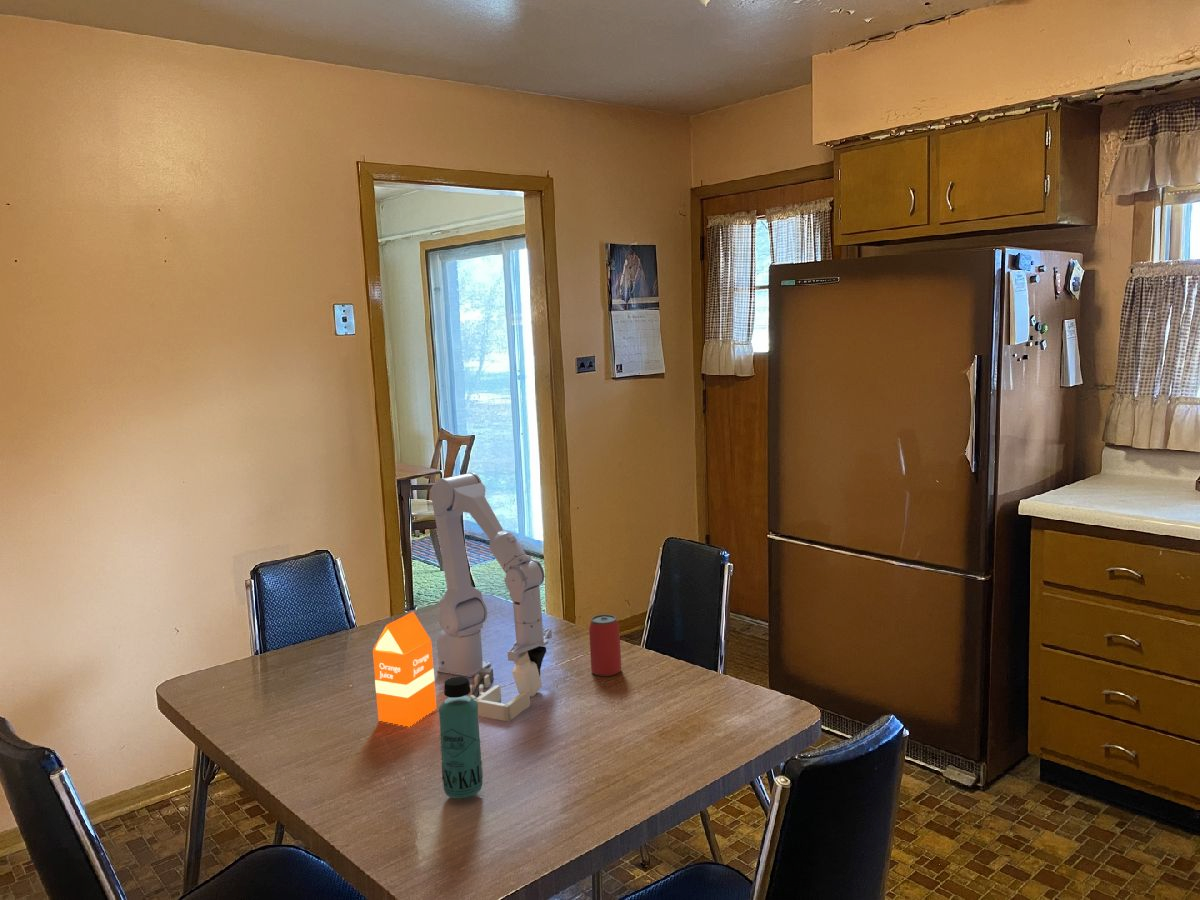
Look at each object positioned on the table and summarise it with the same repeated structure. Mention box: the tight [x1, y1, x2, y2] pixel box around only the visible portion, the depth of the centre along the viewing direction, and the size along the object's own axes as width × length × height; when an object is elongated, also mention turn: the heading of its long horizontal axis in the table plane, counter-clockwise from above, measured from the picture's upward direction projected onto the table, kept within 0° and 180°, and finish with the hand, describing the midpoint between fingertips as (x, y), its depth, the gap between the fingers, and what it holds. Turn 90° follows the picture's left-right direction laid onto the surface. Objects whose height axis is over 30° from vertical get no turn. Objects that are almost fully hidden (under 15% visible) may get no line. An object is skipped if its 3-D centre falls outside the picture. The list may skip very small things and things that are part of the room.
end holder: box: [475, 684, 531, 722], centre depth 174 cm, size 8×8×3 cm
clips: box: [467, 673, 492, 700], centre depth 181 cm, size 4×13×2 cm, turn 3°
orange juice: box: [372, 611, 437, 728], centre depth 172 cm, size 8×9×20 cm
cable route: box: [473, 667, 495, 698], centre depth 182 cm, size 3×16×2 cm, turn 0°
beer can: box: [588, 614, 622, 677], centre depth 190 cm, size 7×7×12 cm
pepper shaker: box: [511, 651, 543, 698], centre depth 180 cm, size 4×4×10 cm
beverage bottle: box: [438, 675, 484, 799], centre depth 140 cm, size 6×7×20 cm
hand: (533, 682), depth 183 cm, fingers closed, pressing on pepper shaker
